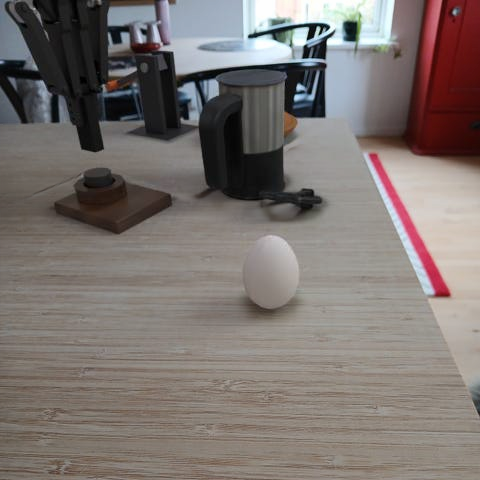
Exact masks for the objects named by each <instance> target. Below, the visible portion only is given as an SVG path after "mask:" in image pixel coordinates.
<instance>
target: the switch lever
mask: <svg viewBox="0 0 480 480" xmlns="http://www.w3.org/2000/svg"><path fill="white" fill-rule="evenodd" d="M156 56H158V63H159V71H160V72H161V71H163V70H165V69H167V65H166V62H165V60H164V57H163V54H159V55H156ZM136 79H138V75H137V70H134V71H133V72H130V73H129V74H126V75H125V76H123V77H120V78H118V79H114V80H110V81H108V83H107V84H104V87H105V89H106V91H108V92H111V91H114V90H119V89H121V88H125V87H128V86H130V84H131V82H132V81H135V80H136Z"/></svg>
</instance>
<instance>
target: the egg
mask: <svg viewBox="0 0 480 480" xmlns="http://www.w3.org/2000/svg"><path fill="white" fill-rule="evenodd" d="M242 265H243V266H242V284H243V286H244V287H243V288H244V290H245V292H246V294H247V295H248V298H249V299H250V300H251V301H252V302H253V303H254V304H256V306H259V307H260V308H263V309H266V310H267V309H268V310H276V309H279V308H281V307H284V306H285V305H287V303H289V302H290V301H291V300H292V298H293V296H294V295H295V294H296V292H297V289H298V287H299V284H300V283H299V282H300V266H299V262H298V258H297V256H296V254H295V252H294V250H293V248H292V247H291V246H290V244H289V243H288V242H287V241H286V240H285V239H283V238H282V237H279V236H277V235H274V234H273V235H272V234H269V235H268V234H267V235H264V236H262V237H260V238H259V239H257V240H256V241H255V242H254V243H253V244H252V246H251V247H250V248H249V250H248V251H247V253H246V256H245V258H244V261H243V264H242Z"/></svg>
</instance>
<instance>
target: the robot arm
mask: <svg viewBox="0 0 480 480" xmlns="http://www.w3.org/2000/svg"><path fill="white" fill-rule="evenodd" d="M111 2H112V0H8V1H7V0H6V2H5V3H4V10H5V12H6V13H7V15H8V16H9V17H10V18H11V19H12V21H13V22H14V23H15V25H16V26H17V27H18V29H19V31H20V34H21V35H22V37H23V40H24V42H25V44H26V47H27V49H28V51H29V53H30V55H31V58H32V60H33V62H34V64H35V66H36V68H37V70H38V73H39V75H40V78H41V79H42V82H43V84H44V86H45V88H46V90H47V92H48V93H49V94H51V95H56V96H61V97H63V99H64V100H65V104H66V109H67V113H68V116H69V121H70V123H71V125H72V126H75V128H76V132H77V137H78V141H79V146H80V150H82V151H87V152H91V153H98V152H101V151H103V150H105V146H104V140H103V135H102V131H101V125H100V121H101V120H102V111H101V105H100V100H99V96H98V95H101V94H102V93H103V92H104V87H102V86H103V85H105V84H107V83H108V82H109V79H110V78H109V76H110V75H109V18H108V17H109V15H108V14H109V10H110V7H111ZM38 14H39V17H40V19H39V18H38Z"/></svg>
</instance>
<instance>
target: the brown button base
mask: <svg viewBox="0 0 480 480" xmlns="http://www.w3.org/2000/svg"><path fill="white" fill-rule="evenodd" d="M111 173H112V178H113V184H112V185H109V186H107V187H102V188H87V187H86V184H85V180H84V177H81V178H78V179H77V180H76V182H75V183H74V184H73V188H74V192H73V193H71V194H69V195H66V196H64V197H62V198H60V199H57V200H55V201H53V206H54V209H55V213H56V214H57V215H59V216H63V217H65V218H68V219H72V220H75V221H78V222H81V223H83V224H87V225H90V226H92V227H96V228H99V229H102V230H105V231H107V232H111V233H113V234H116V235H121V234H122V233H124V232H126V231H128V230H130V229H131V228H134V227H136V226H137V225H139V224H140V223H143V222H144V221H146V220H148V219H150V218H152V217H153V216H155V215H158V214H159V213H160V212H163V211H164V210H166V209H168V208H170V207H172V206H173V200H172V194H171V193H170V192H165V191H162V190H158V189H153V188H150V187H146V186H143V185H138V184H135V183H130V182H126V180H125V179H126V178H124V177H123V175H122V174H121V175H120V174H117V173H114V172H111Z"/></svg>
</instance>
